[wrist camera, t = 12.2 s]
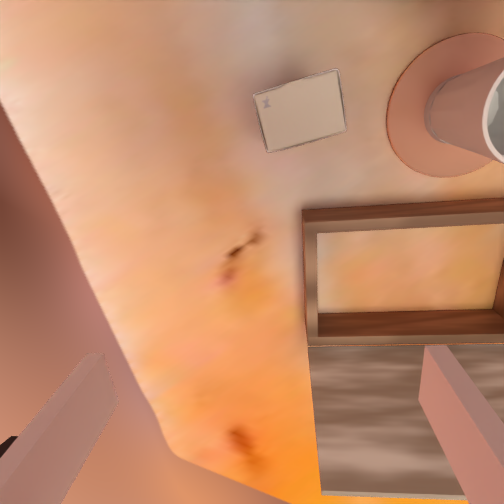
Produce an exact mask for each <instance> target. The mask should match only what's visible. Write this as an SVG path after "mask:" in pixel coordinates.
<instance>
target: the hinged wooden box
mask: <svg viewBox="0 0 504 504" xmlns="http://www.w3.org/2000/svg"><path fill="white" fill-rule="evenodd" d="M501 223H504V198H492V199H476V200H459V201H442V202H426V203H409V204H393V205H376V206H360V207H343V208H327V209H310V210H302V232H303V266H304V300H305V325H306V334H307V343H308V346H317V345H384V344H451V343H504V260H503V265H502V269H501V274H500V278H499V283H498V287H497V292H496V297H495V301H494V306H493V309H481V310H442V311H403V312H364V313H325V314H318V306H317V233H330V232H349V231H368V230H387V229H406V228H425V227H444V226H463V225H482V224H501ZM425 346H426V345H397V346H328V347H308V357H309V368H310V378H311V388H312V399H313V409H314V420H315V430H316V441H317V451H318V462H319V472H320V482H321V493H322V495H332V496H360V497H389V498H418V499H446V500H467V498H466V496H465V494H464V492H463V490H462V488H461V486H460V484H459V482H458V480H457V478H456V476H455V474H454V472H453V470H452V467H451V465H450V463H449V461H448V459H447V457H446V455H445V453H444V451H443V449H442V447H441V445H440V443H439V441H438V439H437V437H436V435H435V433H434V431H433V429H432V427H431V425H430V423H429V421H428V419H427V417H426V415H425V413H424V410H423V408H422V406H421V404H420V402H419V400H418V398H419V390H420V382H421V374H422V366H423V358H424V350H425ZM446 346H447V347H448V348H449V350H450V351H451V352H452V354H453V355H454V357H455V358H456V359H457V361H458V362H459V363H460V365H461V366H462V367H463V369H464V370H465V372H466V373H467V374H468V376H469V377H470V378H471V380H472V381H473V382H474V384H475V385H476V386H477V388H478V389H479V391H480V392H481V393H482V395H483V396H484V397H485V399H486V400H487V401H488V403H489V404H490V406H491V407H492V408H493V410H494V411H495V412H496V414H497V415H498V416H499V418H500V419H501V421H502V422H503V423H504V344H466V345H446Z"/></svg>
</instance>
